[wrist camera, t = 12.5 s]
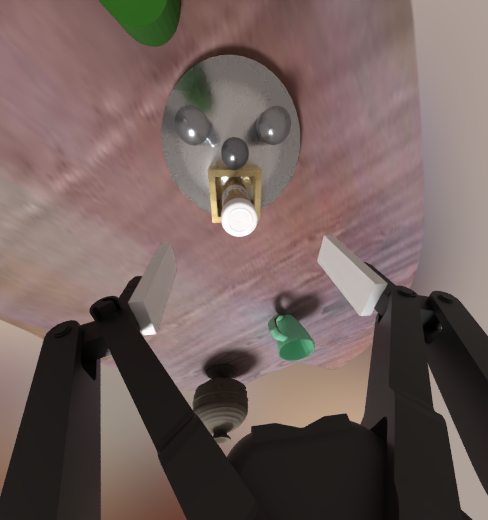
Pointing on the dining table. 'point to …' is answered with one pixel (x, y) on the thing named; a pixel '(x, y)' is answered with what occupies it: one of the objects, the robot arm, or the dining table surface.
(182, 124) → the carrier
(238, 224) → the sprinkles bottle
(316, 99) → the dining table surface
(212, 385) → the pot
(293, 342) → the mug
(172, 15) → the candle
